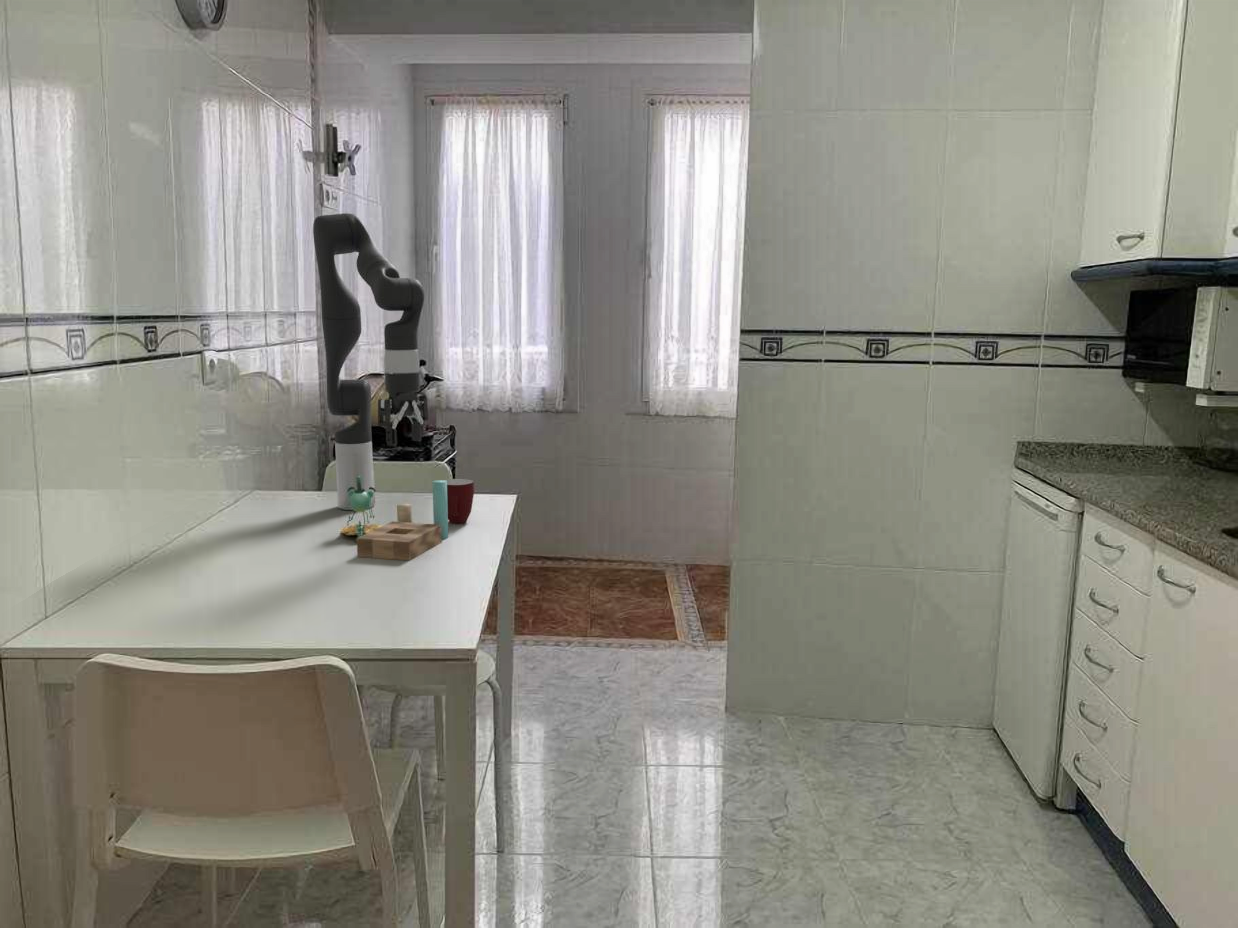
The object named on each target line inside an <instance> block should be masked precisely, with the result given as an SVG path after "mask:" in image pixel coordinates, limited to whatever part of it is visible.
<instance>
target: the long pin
mask: <svg viewBox="0 0 1238 928" xmlns="http://www.w3.org/2000/svg"><path fill="white" fill-rule="evenodd" d="M432 506H433V507H432V510H433V511H432V513H433V524H437V525H441V529H442V540H445V539H448V538H449V520H448V507H447V481H444V480H442V479H440V480H433V481H432Z"/></svg>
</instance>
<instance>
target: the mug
mask: <svg viewBox="0 0 1238 928" xmlns="http://www.w3.org/2000/svg"><path fill="white" fill-rule="evenodd" d="M444 481H447V507H448V523H450V524H452V525H453V524H454V525H455V524H456V525H459V524H464V523H467V521H468V519H469V517H470V515H471V512H472V508H473V501H474V494H475V482H474V480H472V479H467V478H452V479H445V480H444Z"/></svg>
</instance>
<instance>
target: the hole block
mask: <svg viewBox="0 0 1238 928" xmlns="http://www.w3.org/2000/svg"><path fill="white" fill-rule="evenodd" d="M356 539H357V541H356V549H357V557H358V558H359V557H360V558H372V559H373V558H374V559H382V560H384V559H385V560H394V561H395V560H398V561H409V562H410V561H412V560H413V559H415V558H417V557H418V556H420V555H422V554H423V553H425V552H426V551H429V550H431V549H432V548H434V547H436V546H437V545H439V544H441V543H442V542H443V539H442V529H441V525H437V524H434V523H421V522H412V523H408V522H398V521H391V522H388V523H386V524H384V525H381V527H380V528H378V529H375V530H373V531H371V532H369V533H367V534H364V535H363V536H360V537H358V536H357V538H356Z"/></svg>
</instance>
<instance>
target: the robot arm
mask: <svg viewBox="0 0 1238 928" xmlns="http://www.w3.org/2000/svg"><path fill="white" fill-rule="evenodd" d="M312 225H313V226H312V236H313V242H314V243H313V244H314V245H313V246H314V250H315V256H316V262H317V268H318V276H319V287H320V288H319V289H320V304H321V305H320V306H321V322H322V323H321V324H322V331H323V333H322V334H323V339H324V340H323V341H324V350H325V362H326V366H325V368H326V369H325V371H326V375H325V377H326V378H325V379H326V404H327V408H328V411H329V412H328V413H330V414H331V415H332V416H339V417H341V416H342V417H343V416H358V419H357V420H356V421H355V422H353V423H351V424H350V425H348V426H345V427H342V428H339V429H337V430H336V431H335V433H334V445H335V446H334V447H335V450H334V451H335V467H336V469H335V470H336V471H335V472H336V489H337V490H336V491H337V492H336V493H337V508H338V509H340V510H343V511H344V510H345V511H346V510H347V511H354V510H353V509H352V508H351V506H350V507H349V510H348V507H347V506H348V505H349V503H350V496H349V492H348V489H349V488H350V487H354V489H351V490H353V491H354V490H355V489H356V490H358V489H357V481H356V477H357V476H360V478H361V487H362V489H363V488H364V489H365V492H367V493H368V492H369V491H372V492H373V497H372V498H371V507H370V509H372V508H373V507H374V506H375V504H376V492H374V491H373V490H372V489H370V490H369V487H373V488H374V489H375V488H376V487H375V469H374V463H373V462H374V459H373V442H372V441H373V438H372V436H373V435H372V390H371V389H372V388H371V385H370V383H369V381H368V380H367V379H358V378H357V379H341V378H340V375H341V372H342V368H343V367H344V364H345V362H346V359H347V358H348V357H349V355H350V353H351V352H352V350H353V349H354V348H355V346H356V344H357V342H358V341H359V340H360V336H361V334H362V315H361V314H362V312H361V311H362V310H361V306H360V304H359V301H358V299H357V298H356V297H355V295H354V294H353V292H352V291H351V290H350V289H349V286H347V285H346V284H345V282H344V281H343V280H342V277H340V275H339V273H338V270H337V266H336V261H335V256H336V255H337V256H338V255H346V254H352V253H357V254H358V255H357V257H356V269H357V273H358V275H359V276H360V278H361V279H362V280H363V281H364V282H365V283H366V284H367V285H368V286H369V287H370V290H371V292H372V295H373V298H374V301H375V304H376V306H377V307H379V308H380V309H381V310H384V311H389V312H400V311H401V312H402V314H401V317H400V318H399V320H396V321H392V322H389V323H387V324H386V325H385V326H384V330H383V331H384V332H383V333H384V358H383V359H384V360H383V362H384V367H383V368H384V387H385V388H384V389H385V392H386V393H388V398H379V399H378V401H377V425H378V427H381V428H384V430H385V441H386V445H387V447H388V446H389V447H396V446H397V445H398V436H397V432H398V431H397V429H396V428H397V425H398V423H399V422H401V420H402V419H403V418H405V417H407V418H408V419H409V420H410V422H411V440H412V441H413V442H422V438H423V427H422V426H423V424H424V422H425V421H428V420H429V409H428V397H427V395H426V394H417V392H418V393H419V391H421V378H420V377H421V375H420V372H421V371H420V357H419V350H418V348H419V347H418V346H419V345H418V344H419V343H418V328H419V324H420V320H421V315H422V311H423V307H424V303H425V290H424V287H423V284H421V282H420V281H419V280H418V279H416V278H413V277H412V278H411V277H410V278H409V277H406V278H405V277H403V278H402V277H400V273H399V271H398V269H397V267H396V266H394V264H392V262H390V260H389V259H387V257H386V256H384V255H383V253H382V252H381V250H380V249H379V248H378V245H377V244H376V242H375V240H374V238H373V237H372V236H371V234H370V232H369V231H368V230H367V228H366V226H365V224H364V223H363V222H362V220H361V219H360V218H359V217H358V216H357V215H356V214H353V213H348V212H347V213H346V212H345V213H337V214H333V213H332V214H327V215H326V214H325V215H324V214H323V215H318V216H317V217H315V219H314V221H313V224H312ZM384 417H385V418H384ZM384 420H385V421H384ZM351 490H350V491H351ZM375 490H376V489H375Z"/></svg>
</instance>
